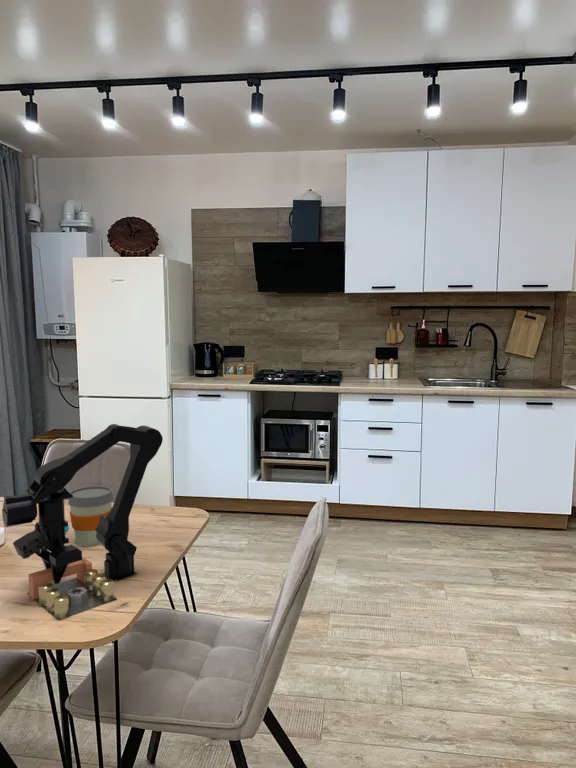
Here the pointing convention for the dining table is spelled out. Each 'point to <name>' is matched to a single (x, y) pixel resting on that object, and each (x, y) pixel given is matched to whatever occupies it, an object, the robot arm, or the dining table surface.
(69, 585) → the plate
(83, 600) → the nut
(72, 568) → the copper l-bar
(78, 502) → the reusable coffee cup
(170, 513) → the dining table surface
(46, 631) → the dining table surface
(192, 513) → the dining table surface
